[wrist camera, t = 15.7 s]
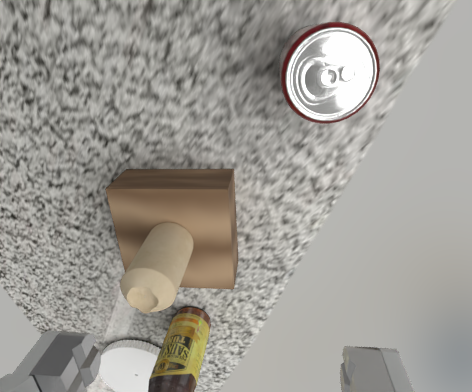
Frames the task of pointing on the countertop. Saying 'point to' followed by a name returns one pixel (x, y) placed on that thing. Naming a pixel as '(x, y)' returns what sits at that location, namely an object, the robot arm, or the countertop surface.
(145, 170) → the walnut stand
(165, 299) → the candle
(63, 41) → the countertop surface
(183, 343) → the sauce bottle
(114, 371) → the plastic lid
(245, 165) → the countertop surface
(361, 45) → the soda can
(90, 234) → the countertop surface
